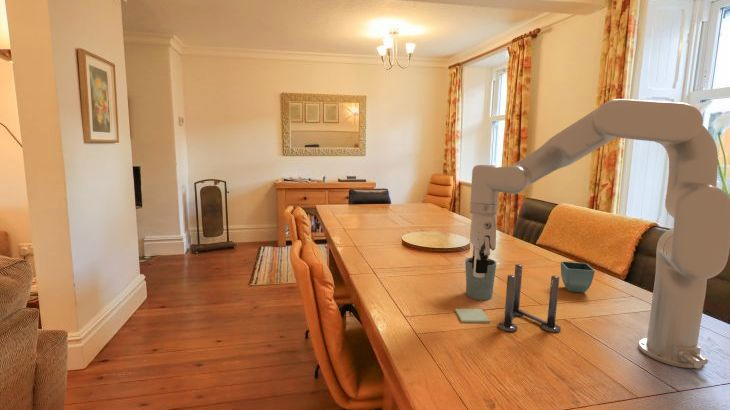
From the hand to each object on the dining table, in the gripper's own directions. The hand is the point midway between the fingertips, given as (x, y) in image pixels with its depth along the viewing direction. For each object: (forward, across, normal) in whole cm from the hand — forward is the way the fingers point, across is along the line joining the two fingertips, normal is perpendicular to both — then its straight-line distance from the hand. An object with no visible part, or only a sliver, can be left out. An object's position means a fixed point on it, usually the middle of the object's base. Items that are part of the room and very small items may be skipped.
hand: (479, 270), depth 112 cm
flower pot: (+14, +23, -41) cm, 49 cm away
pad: (+14, 0, +1) cm, 14 cm away
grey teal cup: (+14, +17, -6) cm, 23 cm away
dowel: (+2, 0, 0) cm, 2 cm away
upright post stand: (+14, -2, -13) cm, 19 cm away
